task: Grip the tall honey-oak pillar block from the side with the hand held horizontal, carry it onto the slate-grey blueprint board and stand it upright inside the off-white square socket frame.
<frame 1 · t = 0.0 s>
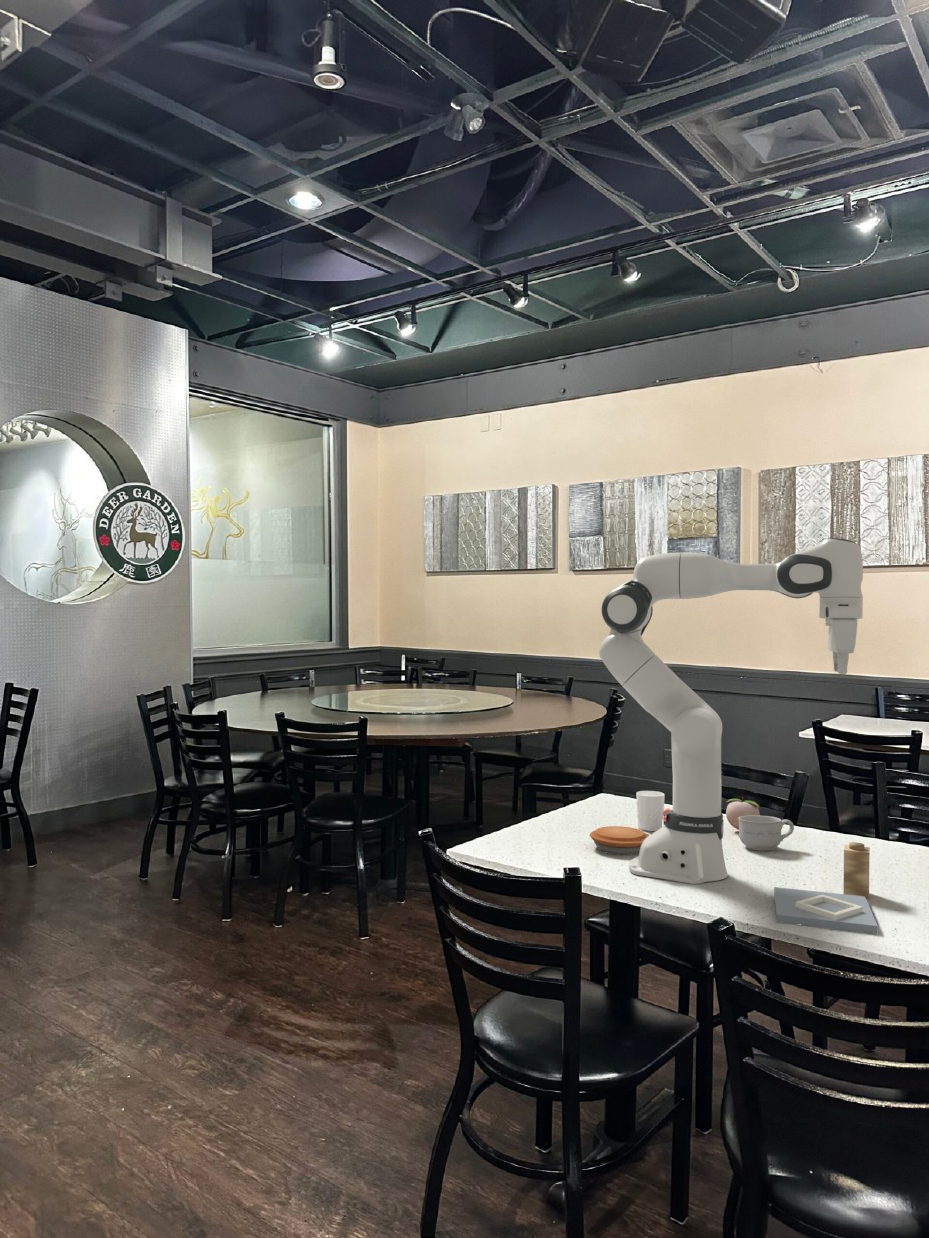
hand: (840, 672, 190), 48 cm above the table, tool pointing down, fingers open, 8 cm apart
pie: (619, 850, 221), on the table
white cup: (650, 829, 243), on the table
decorative fruit: (742, 832, 239), on the table
socket frame: (828, 916, 171), resting on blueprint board
oak pillar: (856, 894, 185), on the table
teacup: (766, 849, 222), on the table
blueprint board: (822, 912, 173), on the table
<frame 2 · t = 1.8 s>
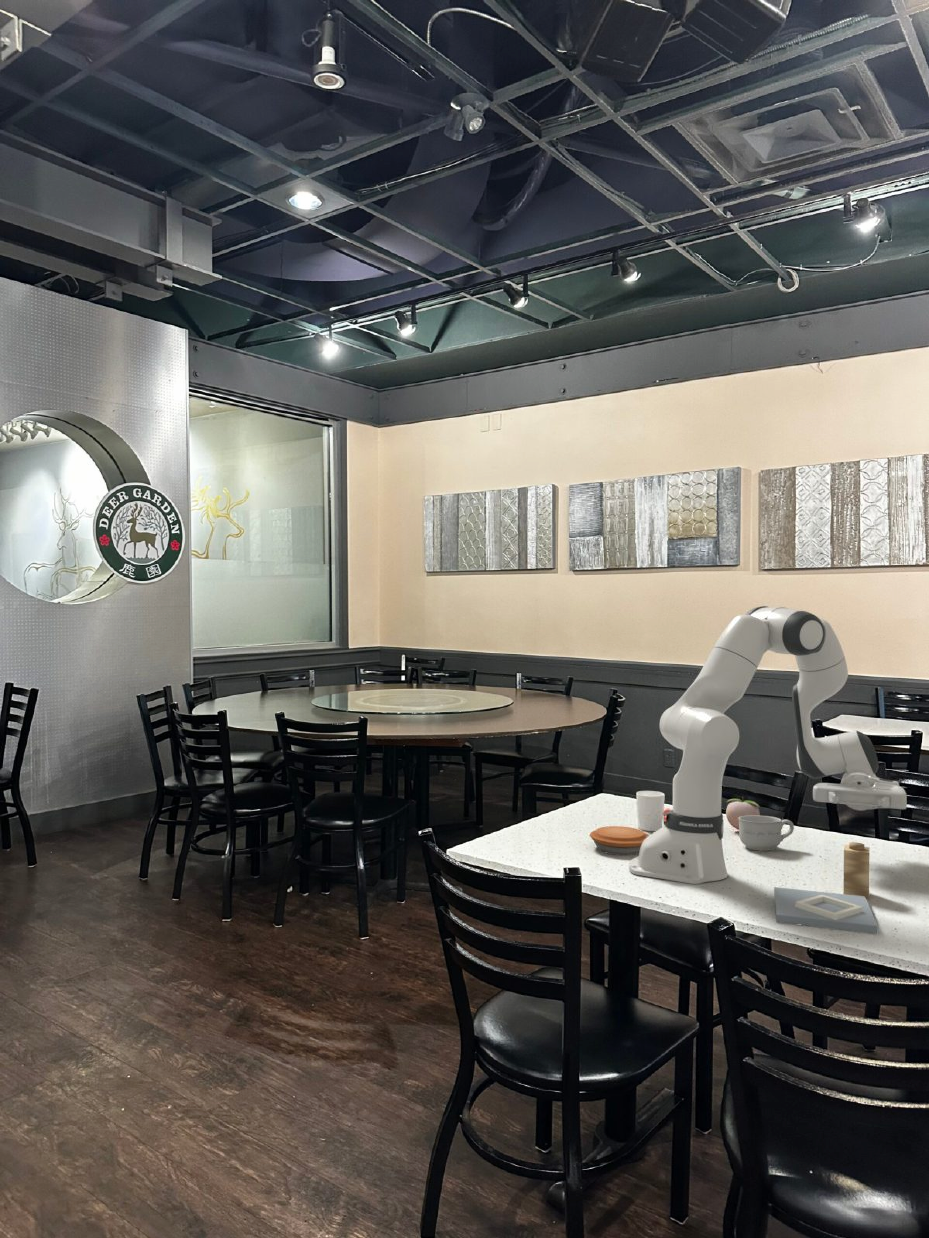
hand: (858, 801, 196), 18 cm above the table, tool horizontal, fingers open, 8 cm apart
nothing on the table moved.
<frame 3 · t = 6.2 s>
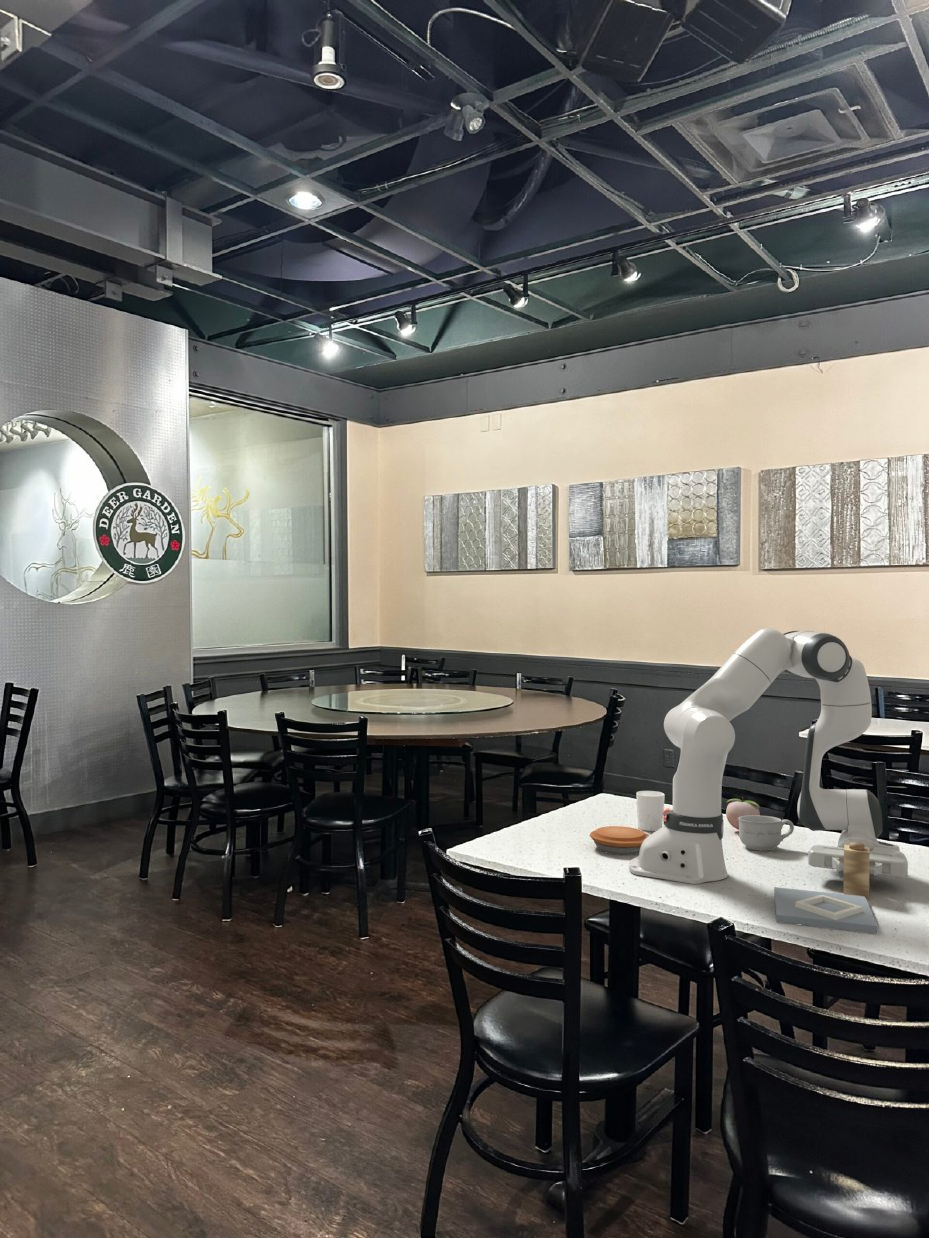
hand: (856, 869, 184), 6 cm above the table, tool horizontal, fingers closed on oak pillar, 5 cm apart
oak pillar: (856, 894, 185), on the table, touching gripper
everything else where it was.
when the fingers open (8 cm above the table, at t = 11.8 s): oak pillar stays where it is, resting on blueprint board.
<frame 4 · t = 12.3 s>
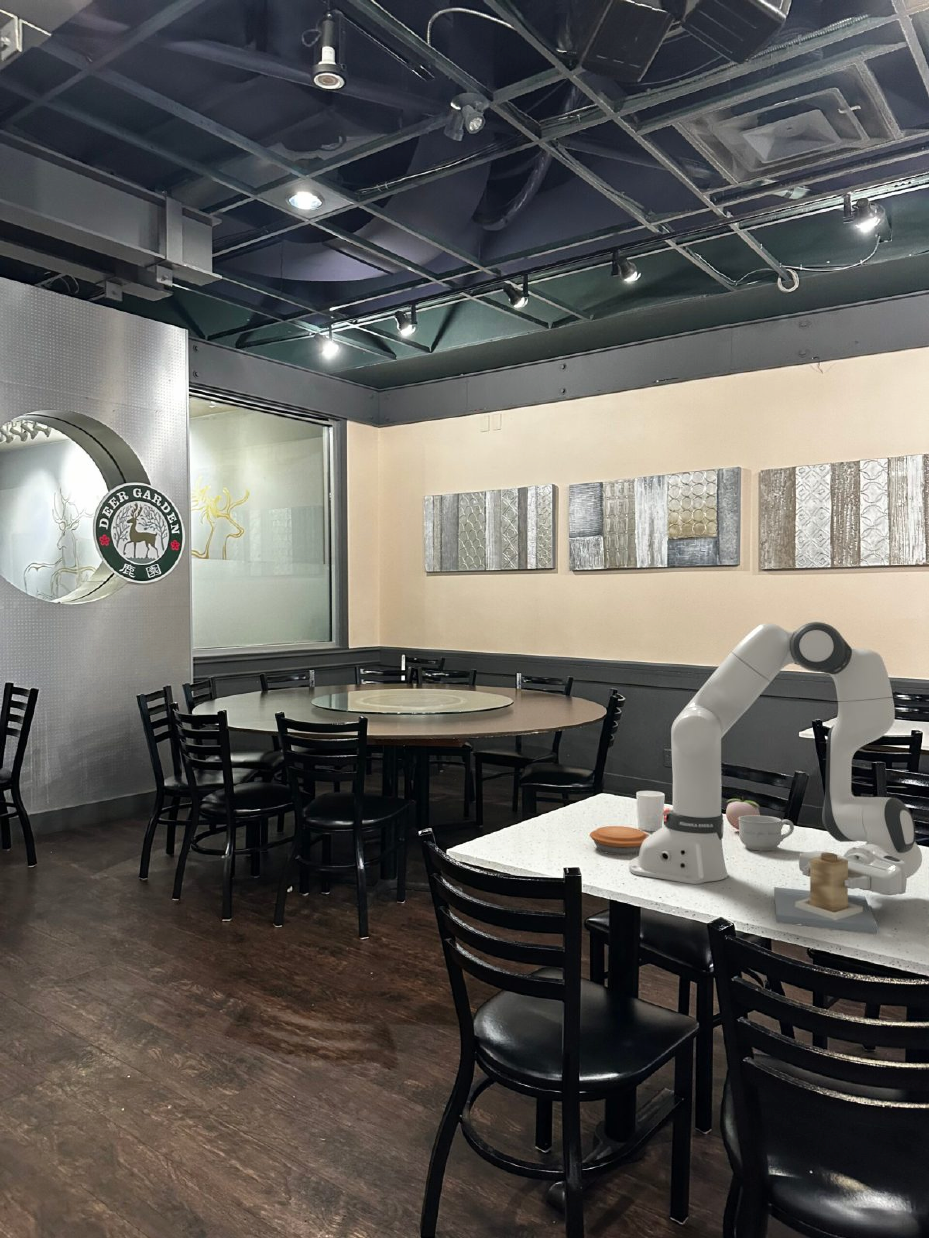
hand: (826, 877, 170), 8 cm above the table, tool horizontal, fingers open, 8 cm apart
oak pillar: (828, 909, 171), point 1 cm above the table, touching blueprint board
everything else where it was.
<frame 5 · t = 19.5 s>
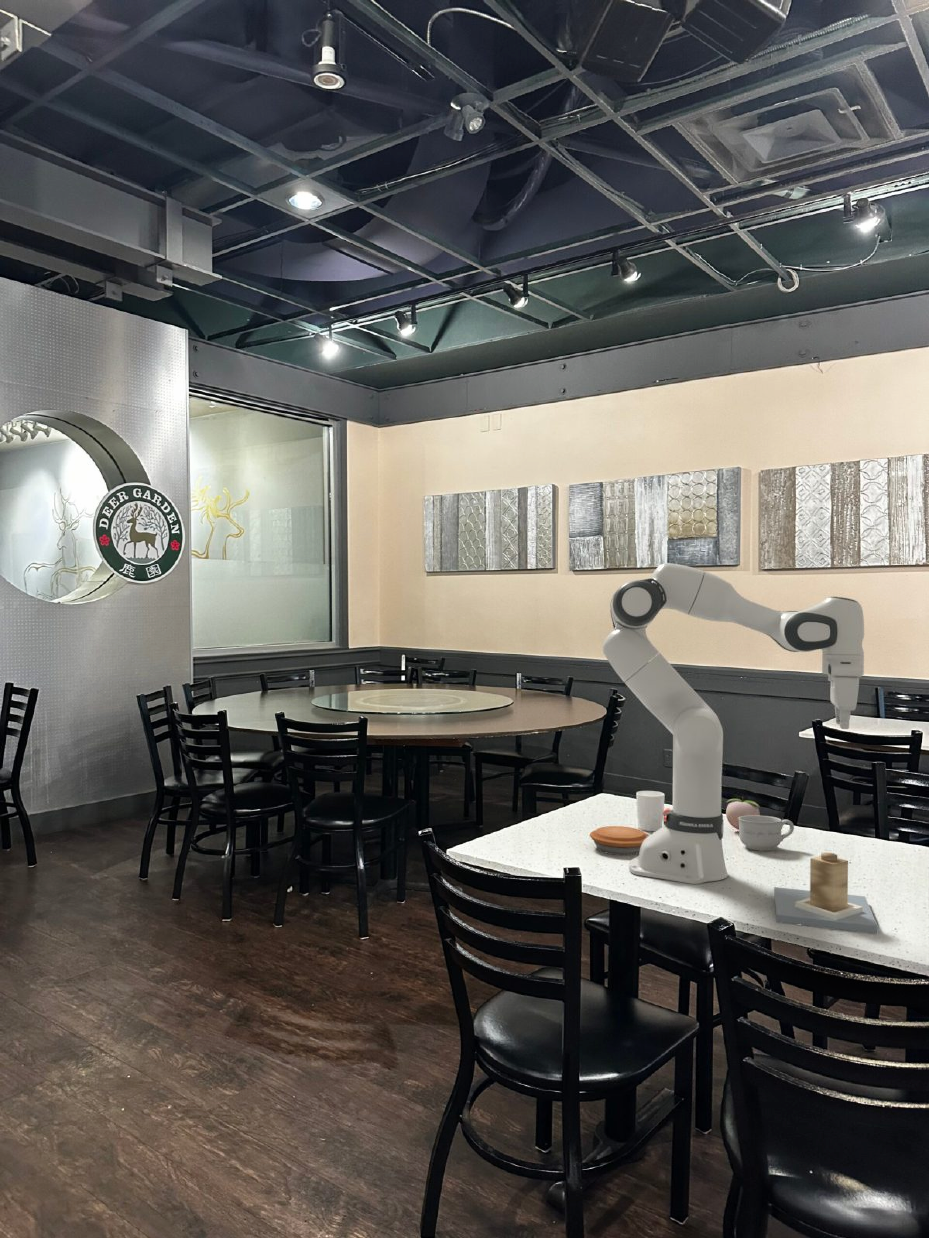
hand: (842, 726, 197), 35 cm above the table, tool pointing down, fingers open, 8 cm apart
nothing on the table moved.
at the end: oak pillar 0.0 cm off-centre on the socket frame, point 1.5 cm above the socket frame's base; oak pillar tilted 0°; the gripper is holding nothing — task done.
